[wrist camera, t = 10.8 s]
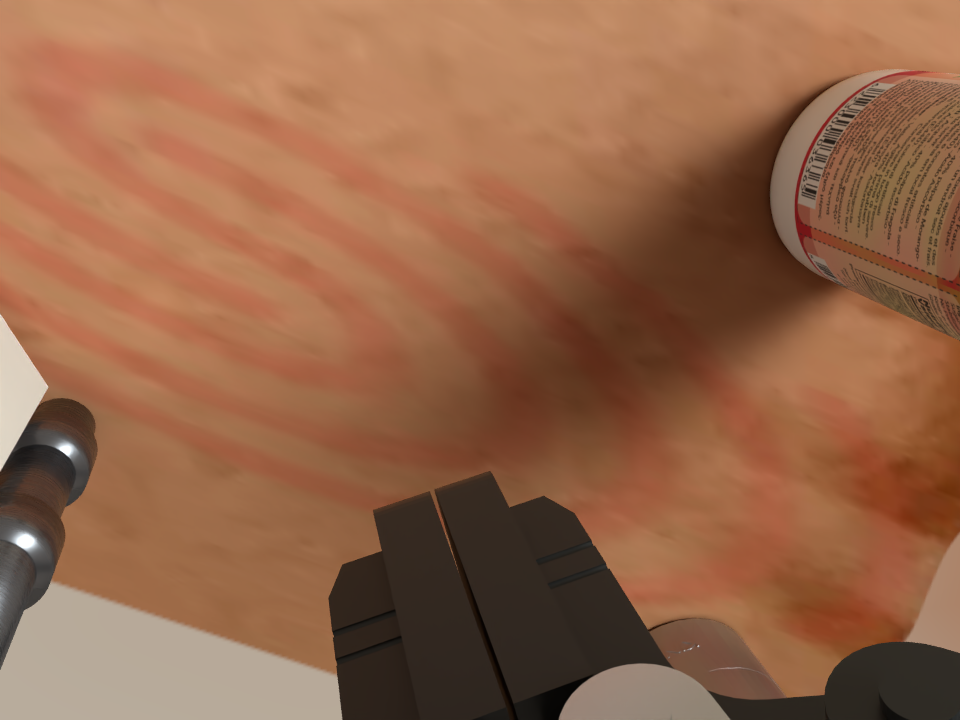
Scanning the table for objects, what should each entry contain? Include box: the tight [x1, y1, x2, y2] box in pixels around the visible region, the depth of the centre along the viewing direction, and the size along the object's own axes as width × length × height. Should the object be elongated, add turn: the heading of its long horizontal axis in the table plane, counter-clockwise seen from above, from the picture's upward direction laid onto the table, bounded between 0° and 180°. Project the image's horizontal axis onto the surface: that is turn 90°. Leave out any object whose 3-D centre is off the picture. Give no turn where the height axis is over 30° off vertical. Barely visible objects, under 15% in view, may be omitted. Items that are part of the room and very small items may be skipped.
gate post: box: [0, 398, 97, 669], centre depth 28 cm, size 3×3×14 cm
